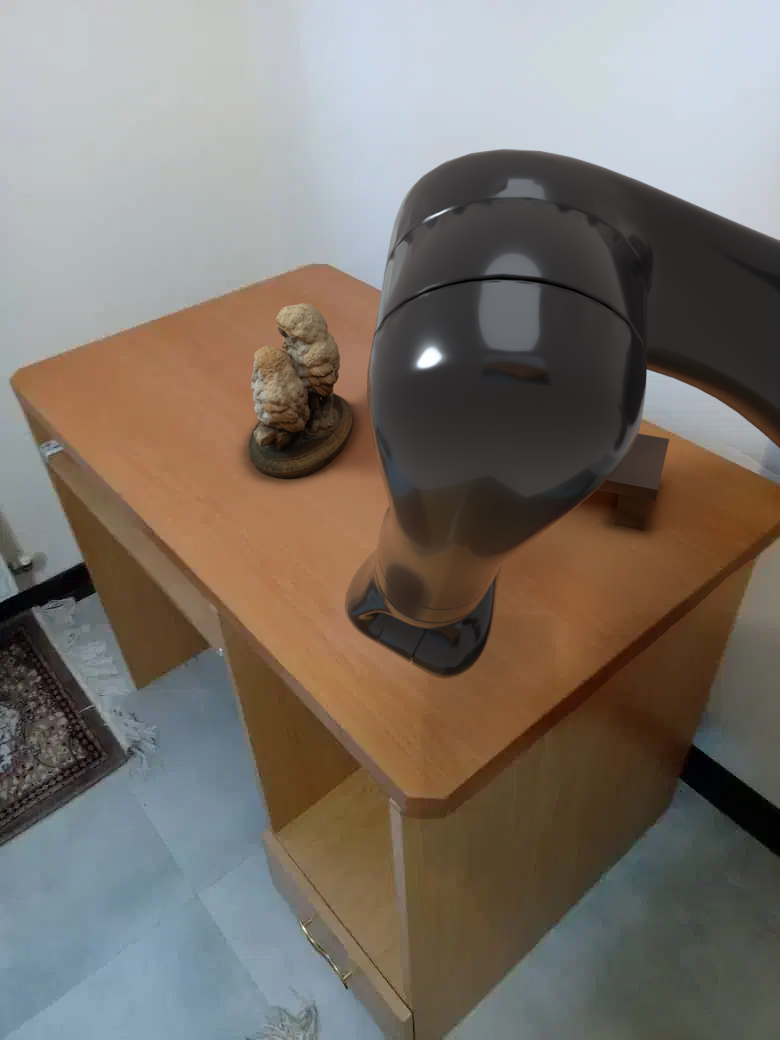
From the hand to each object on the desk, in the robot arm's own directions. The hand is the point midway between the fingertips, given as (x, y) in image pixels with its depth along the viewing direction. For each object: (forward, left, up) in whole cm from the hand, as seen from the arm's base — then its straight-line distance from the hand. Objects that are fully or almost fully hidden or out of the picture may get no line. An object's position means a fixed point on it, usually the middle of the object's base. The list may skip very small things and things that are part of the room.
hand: (561, 384), depth 78 cm
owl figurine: (+31, -2, -14) cm, 34 cm away
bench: (0, -1, -14) cm, 14 cm away
